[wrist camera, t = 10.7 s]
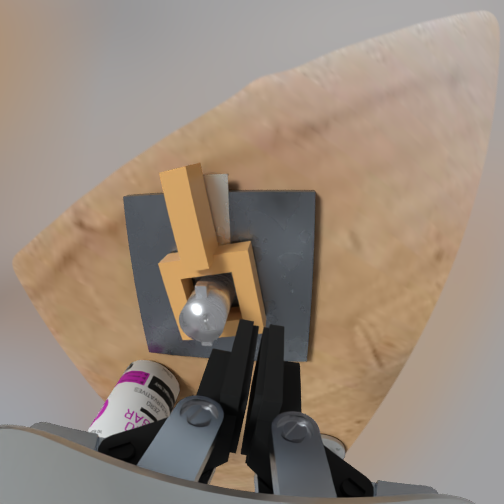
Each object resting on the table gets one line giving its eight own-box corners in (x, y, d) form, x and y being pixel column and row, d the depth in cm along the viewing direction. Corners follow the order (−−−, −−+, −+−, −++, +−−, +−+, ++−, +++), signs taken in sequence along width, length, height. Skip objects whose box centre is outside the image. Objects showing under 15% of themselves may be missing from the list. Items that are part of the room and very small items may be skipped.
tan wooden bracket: (233, 155, 29) (224, 157, 24) (266, 318, 34) (263, 345, 30) (148, 175, 30) (125, 181, 26) (189, 326, 36) (177, 351, 31)
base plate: (306, 355, 37) (309, 407, 29) (152, 346, 39) (125, 390, 31) (314, 172, 30) (326, 182, 22) (126, 178, 32) (80, 192, 24)
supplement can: (125, 384, 43) (83, 455, 29) (133, 347, 40) (82, 424, 26) (173, 406, 43) (142, 483, 29) (187, 372, 40) (152, 457, 26)
